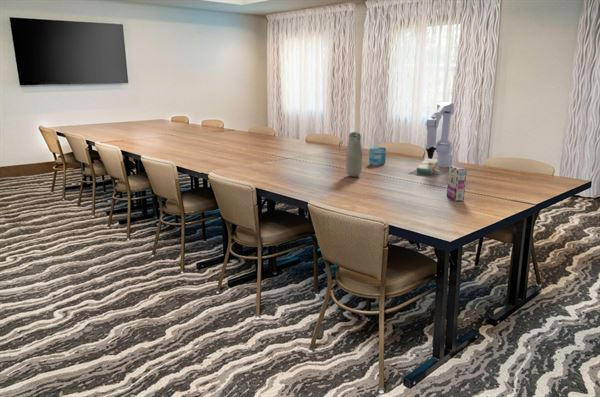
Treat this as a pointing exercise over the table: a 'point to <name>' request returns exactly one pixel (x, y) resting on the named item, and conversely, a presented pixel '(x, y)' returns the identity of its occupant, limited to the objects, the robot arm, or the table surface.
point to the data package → (377, 156)
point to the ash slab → (427, 167)
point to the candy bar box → (456, 183)
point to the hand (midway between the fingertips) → (430, 158)
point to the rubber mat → (434, 174)
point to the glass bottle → (354, 155)
